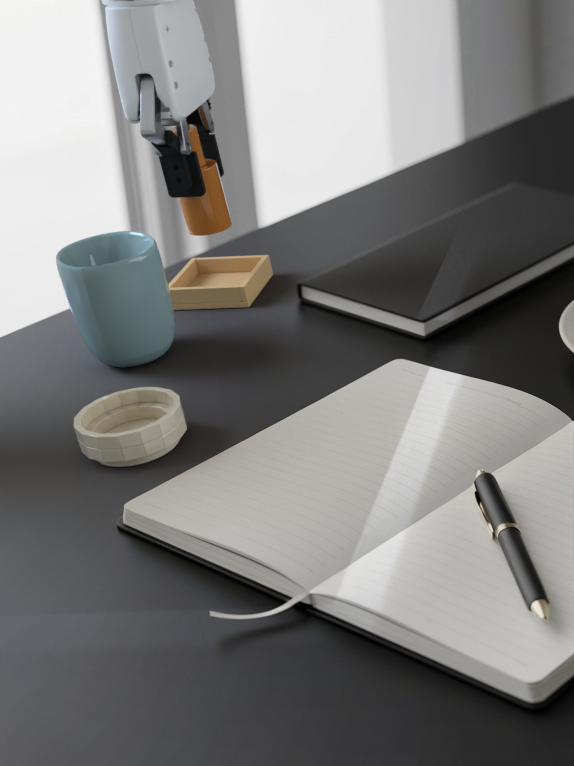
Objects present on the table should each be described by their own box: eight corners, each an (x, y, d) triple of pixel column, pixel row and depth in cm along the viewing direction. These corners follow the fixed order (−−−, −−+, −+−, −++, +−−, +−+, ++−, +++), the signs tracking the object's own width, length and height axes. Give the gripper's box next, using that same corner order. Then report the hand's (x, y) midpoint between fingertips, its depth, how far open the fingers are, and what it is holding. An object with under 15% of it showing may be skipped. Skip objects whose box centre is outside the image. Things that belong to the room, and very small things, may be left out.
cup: (104, 387, 104) (70, 275, 100) (76, 356, 110) (42, 248, 105) (198, 356, 109) (169, 248, 104) (167, 327, 114) (138, 223, 109)
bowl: (67, 473, 93) (55, 438, 91) (109, 422, 99) (99, 388, 98) (168, 469, 93) (157, 434, 91) (203, 418, 99) (194, 384, 98)
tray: (168, 310, 117) (162, 289, 116) (197, 277, 124) (191, 257, 123) (249, 307, 117) (244, 286, 116) (273, 274, 124) (269, 254, 123)
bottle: (180, 237, 116) (152, 136, 111) (196, 220, 119) (169, 122, 115) (223, 234, 116) (197, 133, 111) (238, 218, 119) (213, 119, 115)
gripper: (140, -38, 114) (189, 158, 123) (56, 4, 100) (119, 222, 108) (222, -42, 114) (266, 154, 123) (151, -1, 99) (207, 219, 108)
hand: (197, 184), depth 116 cm, fingers closed on bottle, 4 cm apart
